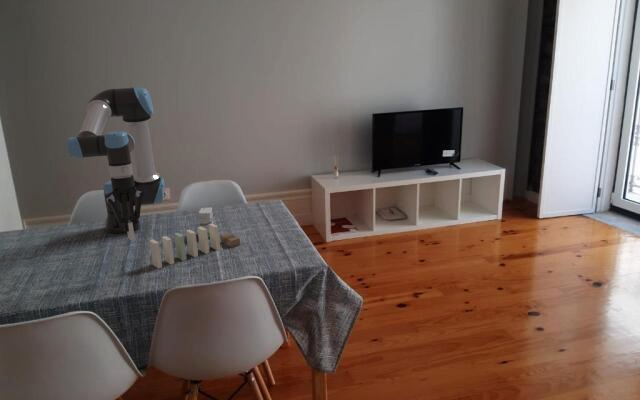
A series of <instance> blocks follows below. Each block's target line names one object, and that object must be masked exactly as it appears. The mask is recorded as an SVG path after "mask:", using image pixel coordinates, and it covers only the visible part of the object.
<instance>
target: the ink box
mask: <svg viewBox="0 0 640 400" xmlns="http://www.w3.org/2000/svg"><path fill="white" fill-rule="evenodd" d="M198 219H199V227H203V228H205V229H207V235H208V239H210V232H209V224H214V214H213V207H201V208H200V210H199V212H198ZM214 225H215V224H214Z"/></svg>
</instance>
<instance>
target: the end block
mask: <svg viewBox="0 0 640 400" xmlns="http://www.w3.org/2000/svg"><path fill="white" fill-rule="evenodd" d="M219 238H220V242H221V244H224V245H226V246H228V247H229V248H232V249H233V248H235V247H239V246H241V240H240V238H239V237H237V236H235V235H234V234H231V233H229V232H228V233H224V234H221V235H220V234H219Z"/></svg>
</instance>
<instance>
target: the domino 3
mask: <svg viewBox="0 0 640 400" xmlns="http://www.w3.org/2000/svg"><path fill="white" fill-rule="evenodd" d="M173 235H174V243H175V250H176V257H177V258H178V259H179V260H180V261H187V253H186V246H185V245H186V244H185V237H184V235H183V234H181V233H179V232H175V233H173Z"/></svg>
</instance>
